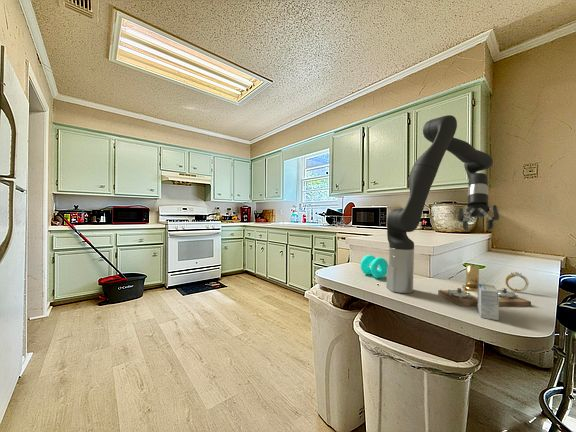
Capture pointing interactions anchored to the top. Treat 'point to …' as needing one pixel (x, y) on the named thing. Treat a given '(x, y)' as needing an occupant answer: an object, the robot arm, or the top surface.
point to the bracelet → (514, 276)
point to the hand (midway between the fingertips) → (477, 229)
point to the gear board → (474, 299)
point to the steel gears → (462, 294)
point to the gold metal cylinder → (471, 277)
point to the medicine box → (488, 302)
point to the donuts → (374, 266)
